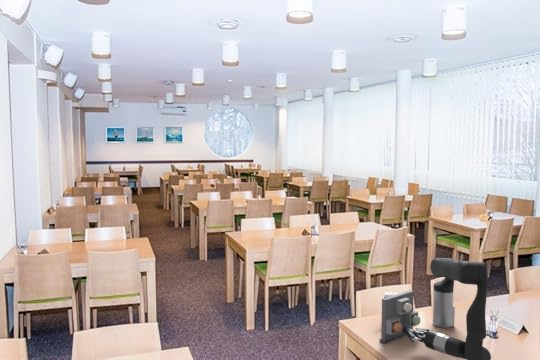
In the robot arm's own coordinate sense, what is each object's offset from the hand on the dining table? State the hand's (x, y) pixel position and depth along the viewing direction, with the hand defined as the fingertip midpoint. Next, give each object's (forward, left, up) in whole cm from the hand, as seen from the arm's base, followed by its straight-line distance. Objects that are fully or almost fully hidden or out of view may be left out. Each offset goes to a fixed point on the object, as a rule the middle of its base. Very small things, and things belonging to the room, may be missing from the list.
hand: (403, 329), depth 211 cm
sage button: (-10, -10, -2) cm, 15 cm away
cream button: (-4, -6, +6) cm, 10 cm away
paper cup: (-8, -32, -8) cm, 34 cm away
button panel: (-3, -10, -8) cm, 13 cm away
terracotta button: (+2, -3, -2) cm, 4 cm away
